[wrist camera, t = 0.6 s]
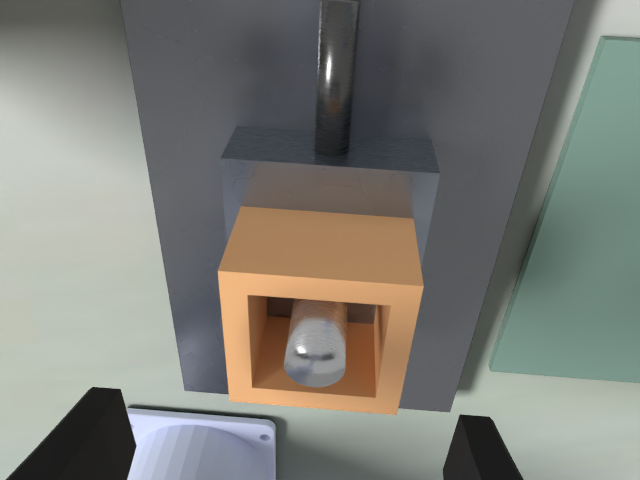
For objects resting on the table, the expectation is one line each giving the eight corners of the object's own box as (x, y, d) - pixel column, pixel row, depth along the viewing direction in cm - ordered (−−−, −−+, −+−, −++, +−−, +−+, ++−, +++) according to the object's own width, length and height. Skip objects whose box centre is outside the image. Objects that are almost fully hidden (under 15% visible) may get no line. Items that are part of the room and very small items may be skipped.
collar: (391, 340, 18) (396, 414, 15) (247, 329, 18) (229, 401, 16) (413, 218, 15) (423, 286, 13) (240, 206, 15) (217, 270, 13)
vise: (446, 390, 24) (472, 549, 19) (191, 370, 25) (140, 520, 19) (570, -46, 14) (716, 12, 8) (126, -71, 14) (-31, -32, 9)
